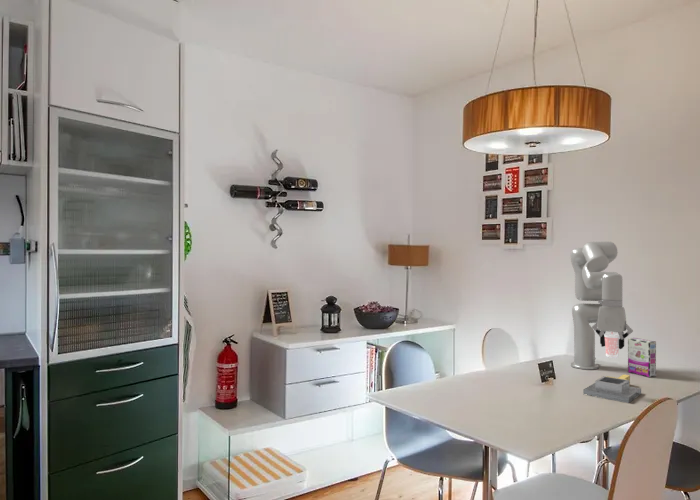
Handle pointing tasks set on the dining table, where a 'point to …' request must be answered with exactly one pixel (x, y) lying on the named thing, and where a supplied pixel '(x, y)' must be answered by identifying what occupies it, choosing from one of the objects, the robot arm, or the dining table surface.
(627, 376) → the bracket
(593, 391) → the stacked grey tray
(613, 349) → the beverage cup
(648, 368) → the candy bar box
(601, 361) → the dining table surface
